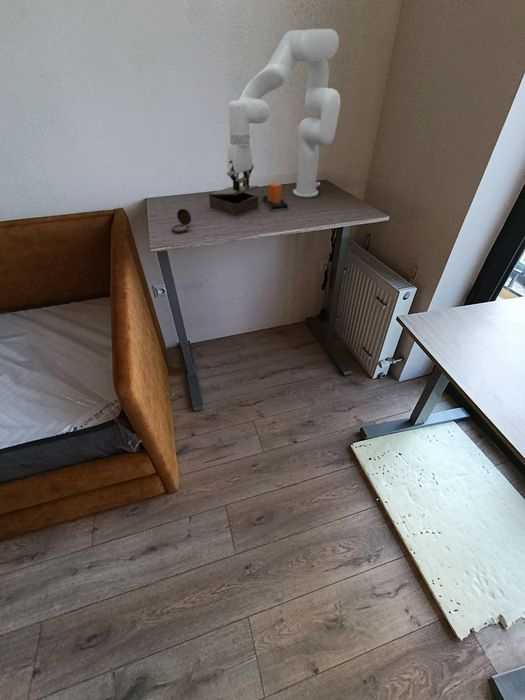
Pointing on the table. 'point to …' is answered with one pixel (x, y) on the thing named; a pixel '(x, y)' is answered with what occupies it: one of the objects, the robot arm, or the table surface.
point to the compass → (182, 221)
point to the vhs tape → (276, 205)
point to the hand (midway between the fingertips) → (241, 188)
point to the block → (274, 192)
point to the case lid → (232, 192)
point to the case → (234, 203)
